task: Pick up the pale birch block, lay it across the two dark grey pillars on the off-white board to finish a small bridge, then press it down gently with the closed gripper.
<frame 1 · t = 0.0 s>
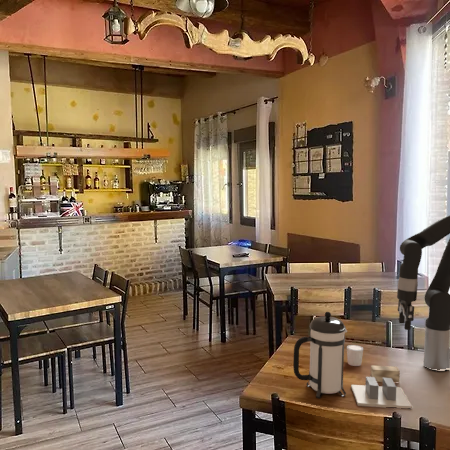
hand: (404, 326, 184), 17 cm above the table, tool pointing down, fingers open, 8 cm apart
white cup: (354, 363, 188), on the table
bridge base: (380, 397, 158), on the table
coffee press: (322, 392, 163), on the table
birch lintel: (384, 380, 172), on the table
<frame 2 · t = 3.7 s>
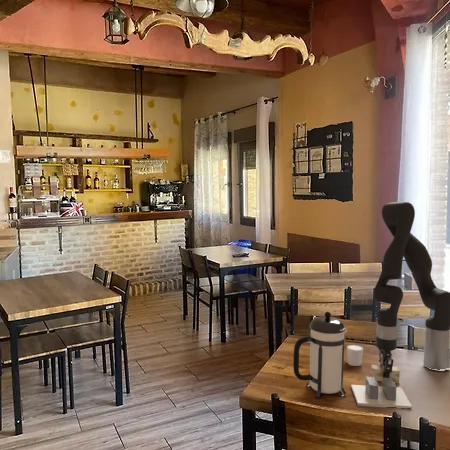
hand: (384, 377, 172), 1 cm above the table, tool pointing down, fingers closed on birch lintel, 4 cm apart
birch lintel: (384, 380, 172), on the table, touching gripper
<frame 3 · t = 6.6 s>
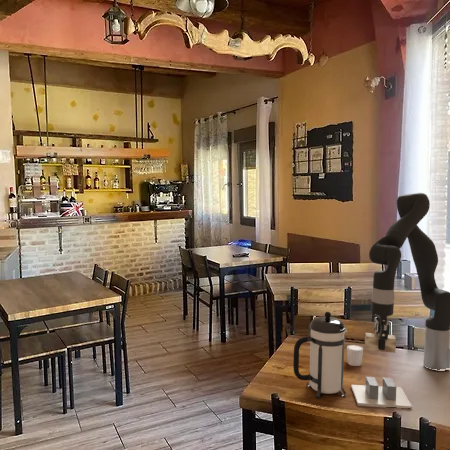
hand: (380, 347, 158), 18 cm above the table, tool pointing down, fingers closed on birch lintel, 4 cm apart
birch lintel: (379, 349, 159), point 17 cm above the table, touching gripper
when the fingers open (8 cm above the table, at t = 9.7 s): birch lintel drops 1 cm, resting on bridge base.
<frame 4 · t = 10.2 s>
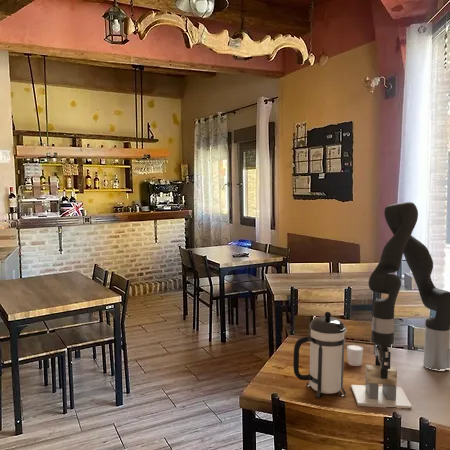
hand: (381, 373, 157), 9 cm above the table, tool pointing down, fingers open, 8 cm apart
birch lintel: (380, 381, 158), point 6 cm above the table, touching bridge base
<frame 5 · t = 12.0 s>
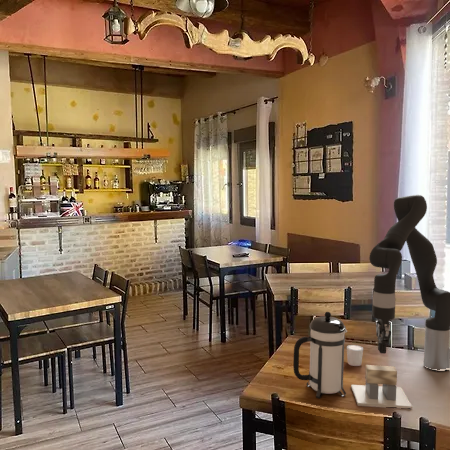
hand: (381, 351, 157), 17 cm above the table, tool pointing down, fingers closed
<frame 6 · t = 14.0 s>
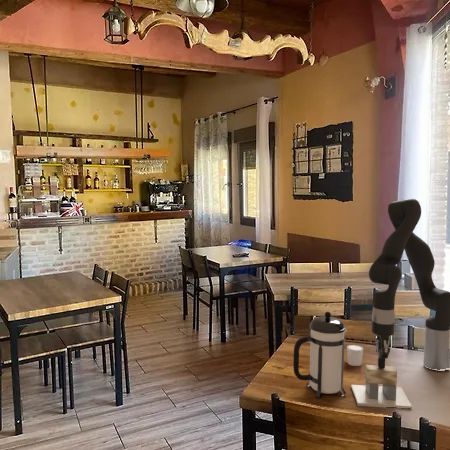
hand: (381, 367, 157), 11 cm above the table, tool pointing down, fingers closed
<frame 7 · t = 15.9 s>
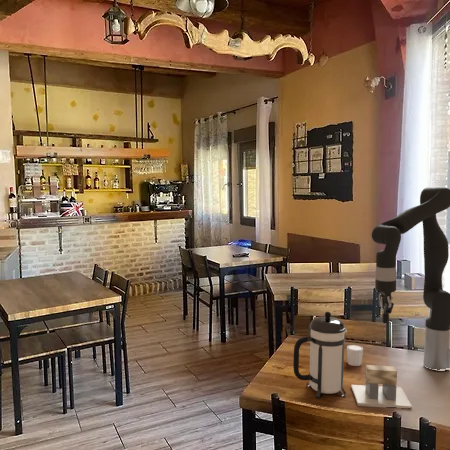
hand: (385, 322, 168), 24 cm above the table, tool pointing down, fingers closed
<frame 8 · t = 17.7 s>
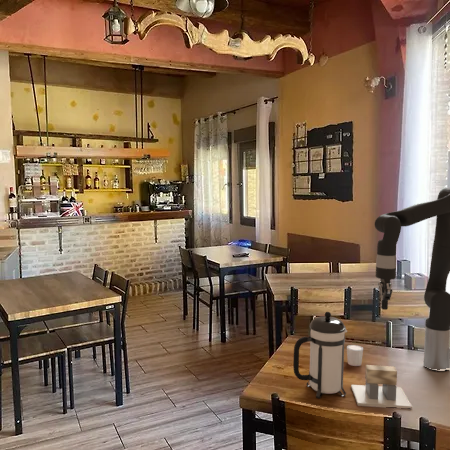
hand: (384, 309, 175), 27 cm above the table, tool pointing down, fingers closed
at the end: birch lintel 0.1 cm off-centre on the bridge base, point 6.0 cm above the bridge base's base; birch lintel tilted 0°; the gripper is holding nothing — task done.
